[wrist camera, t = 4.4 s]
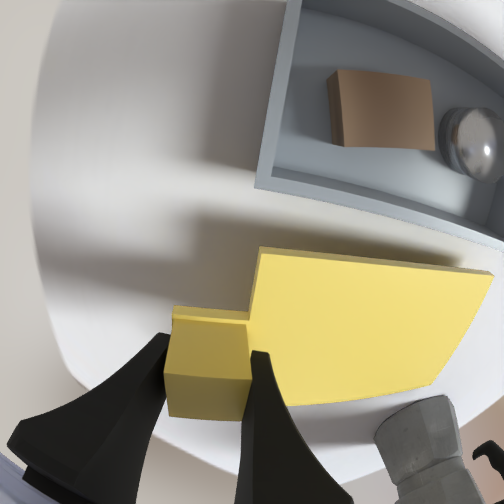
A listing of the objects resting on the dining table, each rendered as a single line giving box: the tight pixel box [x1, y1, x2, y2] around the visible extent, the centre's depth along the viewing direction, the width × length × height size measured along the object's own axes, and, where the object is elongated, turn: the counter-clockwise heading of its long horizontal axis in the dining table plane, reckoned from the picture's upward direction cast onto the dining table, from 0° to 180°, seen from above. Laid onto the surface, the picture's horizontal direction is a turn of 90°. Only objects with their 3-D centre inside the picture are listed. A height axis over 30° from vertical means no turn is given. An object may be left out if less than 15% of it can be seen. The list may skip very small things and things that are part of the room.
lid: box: [164, 246, 494, 421], centre depth 11 cm, size 17×9×4 cm, turn 82°
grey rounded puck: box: [438, 107, 504, 184], centre depth 9 cm, size 4×4×2 cm
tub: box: [254, 0, 504, 252], centre depth 9 cm, size 14×9×4 cm, turn 81°
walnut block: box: [326, 69, 435, 151], centre depth 9 cm, size 4×3×2 cm
